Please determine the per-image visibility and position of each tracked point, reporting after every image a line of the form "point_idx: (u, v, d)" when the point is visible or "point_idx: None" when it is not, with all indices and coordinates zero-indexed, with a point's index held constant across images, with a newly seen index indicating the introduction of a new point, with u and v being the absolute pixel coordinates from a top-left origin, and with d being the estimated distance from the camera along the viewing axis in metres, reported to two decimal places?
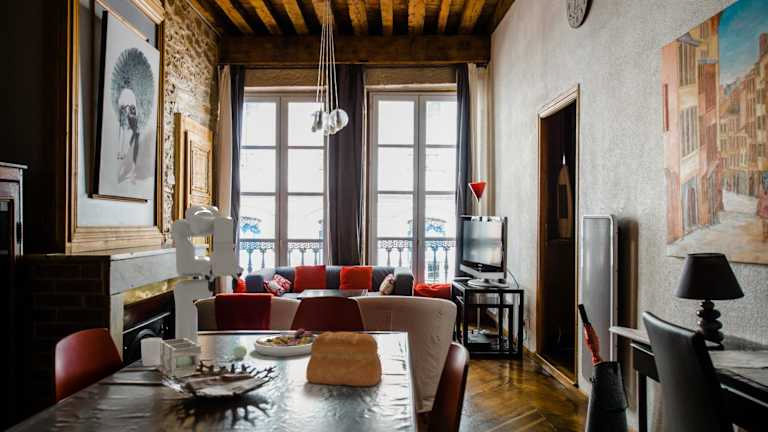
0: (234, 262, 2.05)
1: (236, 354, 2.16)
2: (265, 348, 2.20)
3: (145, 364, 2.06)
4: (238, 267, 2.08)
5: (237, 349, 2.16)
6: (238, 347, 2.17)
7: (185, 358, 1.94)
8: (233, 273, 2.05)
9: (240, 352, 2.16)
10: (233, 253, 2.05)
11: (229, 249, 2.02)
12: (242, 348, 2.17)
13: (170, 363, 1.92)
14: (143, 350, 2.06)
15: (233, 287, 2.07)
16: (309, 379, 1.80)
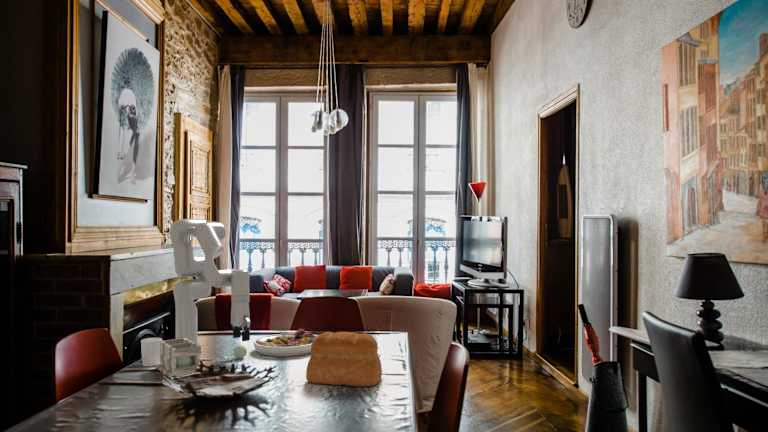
0: None
1: (236, 354, 2.16)
2: (265, 348, 2.20)
3: (145, 364, 2.06)
4: None
5: (237, 349, 2.16)
6: (238, 347, 2.17)
7: (185, 358, 1.94)
8: None
9: (240, 352, 2.16)
10: None
11: None
12: (242, 348, 2.17)
13: (170, 363, 1.92)
14: (143, 350, 2.06)
15: (236, 335, 2.21)
16: (309, 379, 1.80)
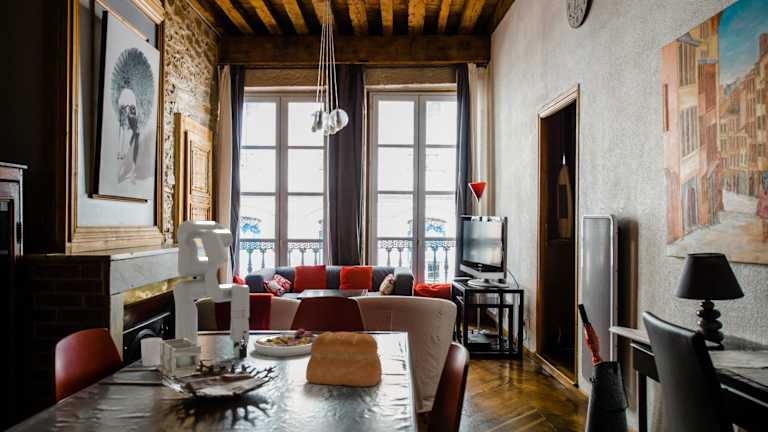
0: None
1: (236, 354, 2.16)
2: (265, 348, 2.20)
3: (145, 364, 2.06)
4: None
5: (237, 349, 2.16)
6: (238, 347, 2.17)
7: (185, 358, 1.94)
8: None
9: None
10: None
11: None
12: None
13: (170, 363, 1.92)
14: (143, 350, 2.06)
15: None
16: (309, 379, 1.80)
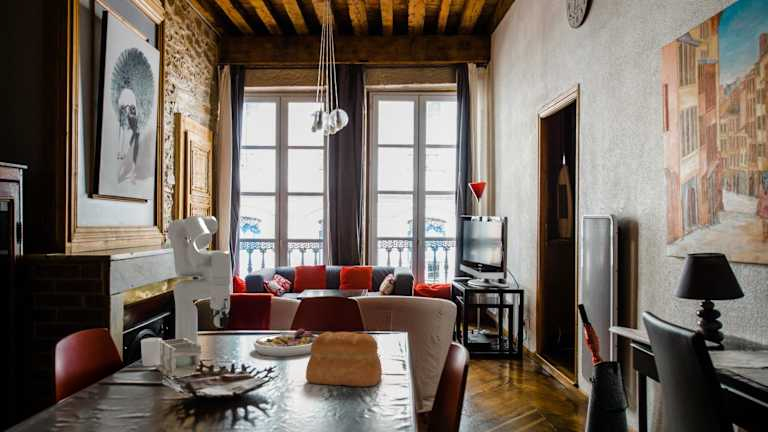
0: None
1: (217, 323, 2.07)
2: (265, 348, 2.20)
3: (145, 364, 2.06)
4: None
5: (218, 318, 2.08)
6: (219, 316, 2.08)
7: (185, 358, 1.94)
8: None
9: None
10: None
11: None
12: None
13: (170, 363, 1.92)
14: (143, 350, 2.06)
15: None
16: (309, 379, 1.80)
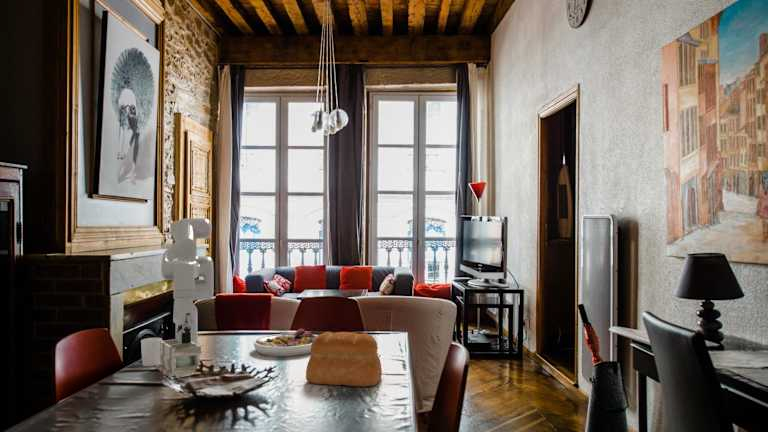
0: None
1: (179, 339, 1.93)
2: (265, 348, 2.20)
3: (145, 364, 2.06)
4: None
5: (180, 333, 1.93)
6: (181, 331, 1.94)
7: (185, 358, 1.94)
8: None
9: None
10: None
11: None
12: None
13: (170, 363, 1.92)
14: (143, 350, 2.06)
15: None
16: (309, 379, 1.80)
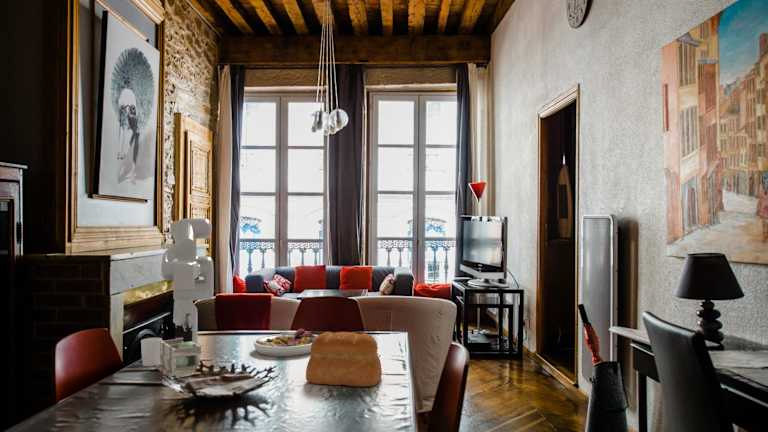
0: None
1: (183, 342, 1.97)
2: (265, 348, 2.20)
3: (145, 364, 2.06)
4: None
5: None
6: None
7: (180, 359, 1.92)
8: None
9: (188, 343, 1.97)
10: None
11: None
12: (192, 344, 1.98)
13: (170, 363, 1.92)
14: (143, 350, 2.06)
15: (179, 335, 1.99)
16: (309, 379, 1.80)
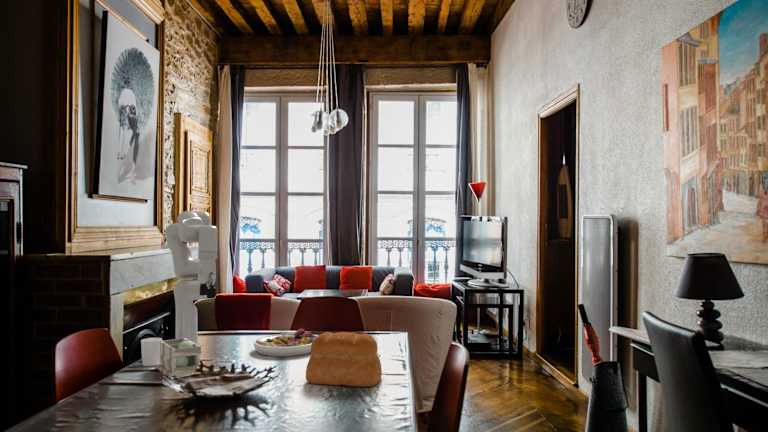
0: None
1: (183, 342, 1.97)
2: (265, 348, 2.20)
3: (145, 364, 2.06)
4: None
5: (188, 341, 1.98)
6: None
7: (180, 359, 1.92)
8: None
9: (188, 343, 1.97)
10: None
11: None
12: (192, 344, 1.98)
13: (170, 363, 1.92)
14: (143, 350, 2.06)
15: (203, 293, 2.16)
16: (309, 379, 1.80)
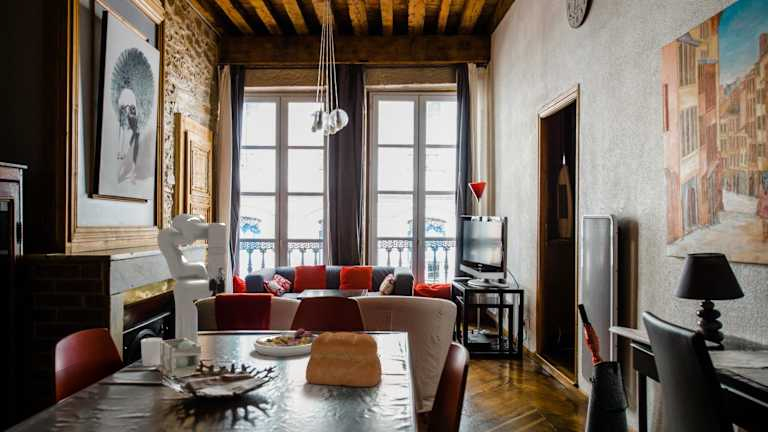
0: None
1: (183, 342, 1.97)
2: (265, 348, 2.20)
3: (145, 364, 2.06)
4: None
5: (188, 341, 1.98)
6: None
7: (180, 359, 1.92)
8: None
9: (188, 343, 1.97)
10: None
11: None
12: (192, 344, 1.98)
13: (170, 363, 1.92)
14: (143, 350, 2.06)
15: (212, 288, 2.22)
16: (308, 379, 1.80)
